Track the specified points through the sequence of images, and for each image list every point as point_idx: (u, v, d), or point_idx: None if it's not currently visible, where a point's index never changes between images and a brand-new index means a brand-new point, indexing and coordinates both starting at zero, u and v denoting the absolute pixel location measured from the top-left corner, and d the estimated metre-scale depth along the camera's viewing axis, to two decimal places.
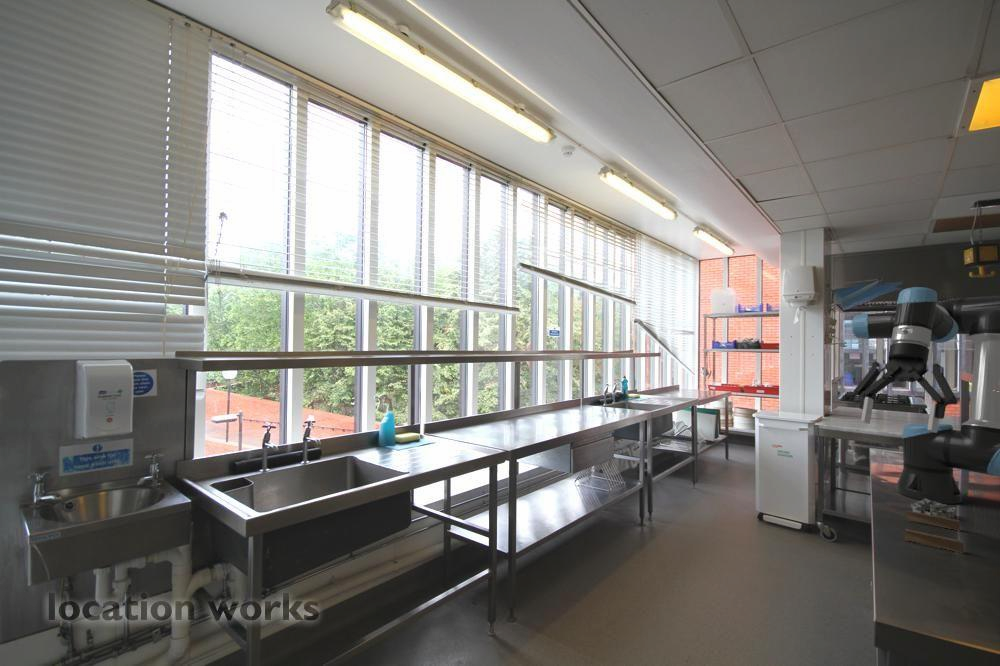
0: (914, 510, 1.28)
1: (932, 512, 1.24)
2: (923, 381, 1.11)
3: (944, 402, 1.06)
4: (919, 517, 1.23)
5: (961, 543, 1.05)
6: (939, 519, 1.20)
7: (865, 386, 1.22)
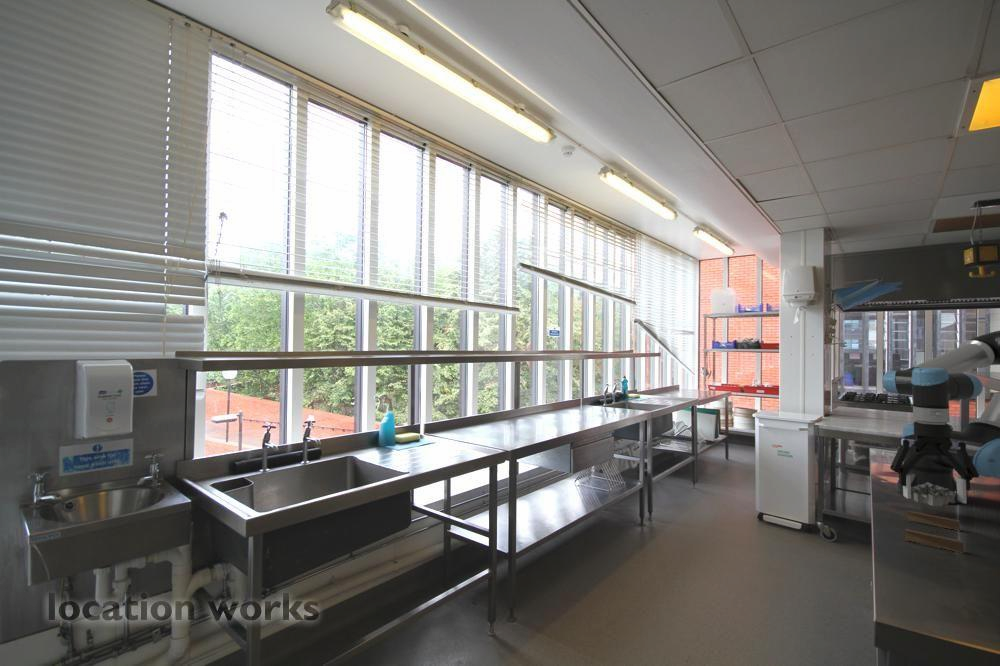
0: (912, 493, 1.30)
1: (928, 495, 1.25)
2: (953, 459, 1.26)
3: None
4: (919, 517, 1.23)
5: (961, 543, 1.05)
6: (939, 519, 1.20)
7: None
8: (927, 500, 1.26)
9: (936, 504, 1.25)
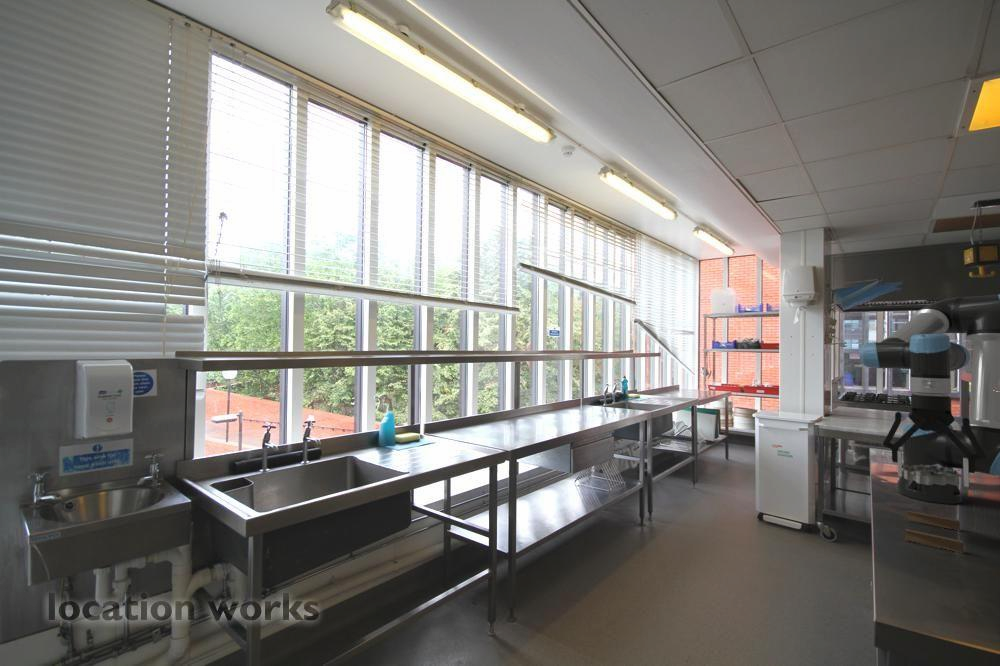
0: None
1: (916, 472, 1.14)
2: (953, 435, 1.12)
3: (976, 458, 1.10)
4: (919, 517, 1.23)
5: (961, 543, 1.05)
6: (939, 519, 1.20)
7: (892, 437, 1.21)
8: None
9: (924, 482, 1.13)
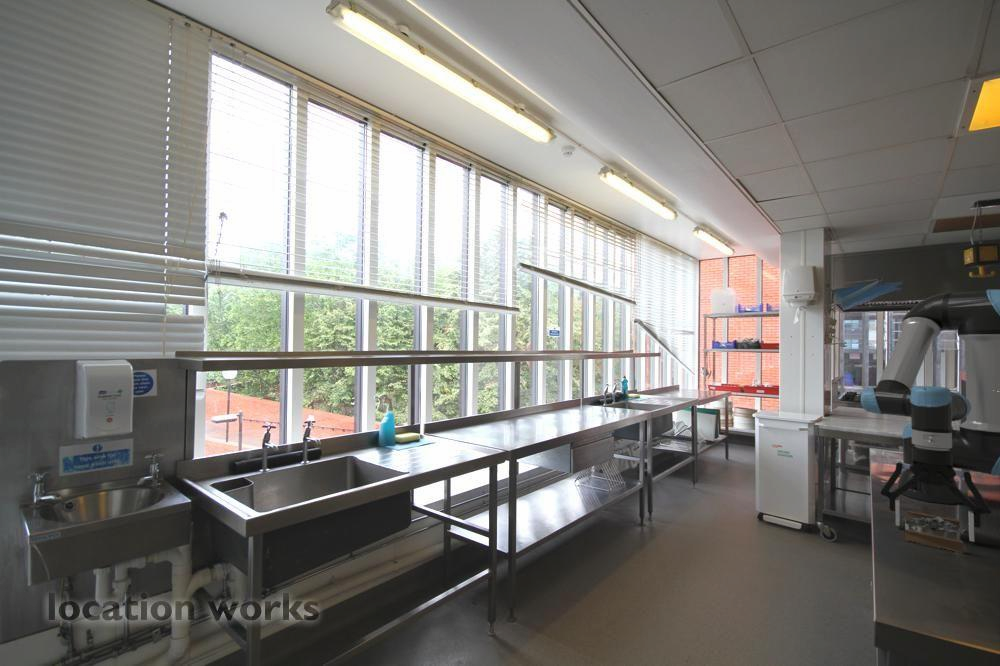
0: None
1: (917, 527, 1.14)
2: (956, 490, 1.11)
3: (981, 513, 1.09)
4: (919, 517, 1.23)
5: (961, 543, 1.05)
6: None
7: None
8: None
9: None
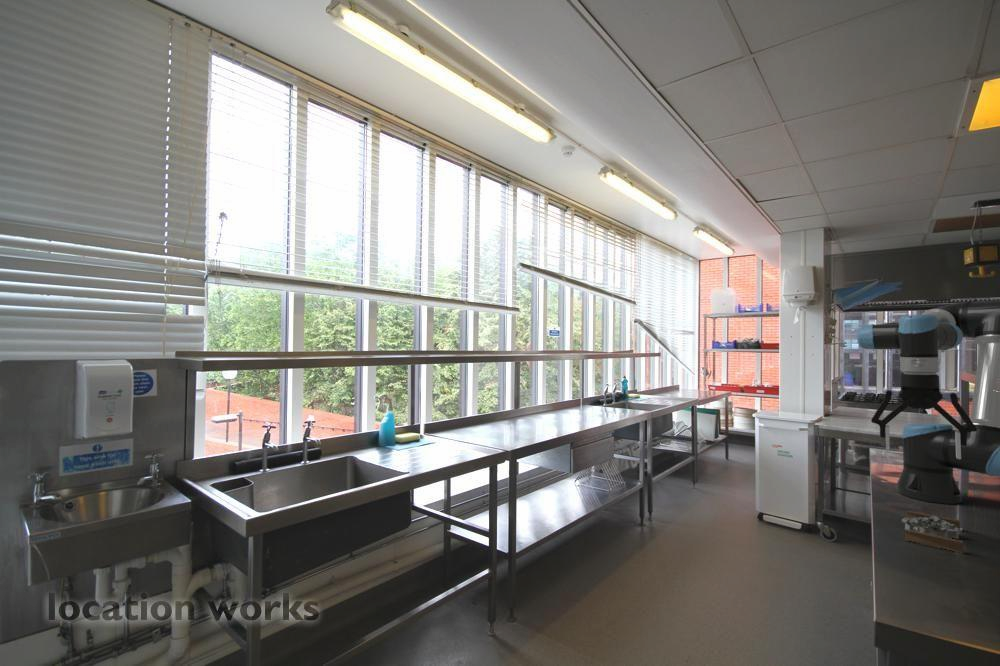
0: None
1: (919, 527, 1.14)
2: (943, 411, 1.16)
3: (967, 431, 1.13)
4: None
5: (961, 543, 1.05)
6: None
7: (881, 414, 1.25)
8: None
9: None
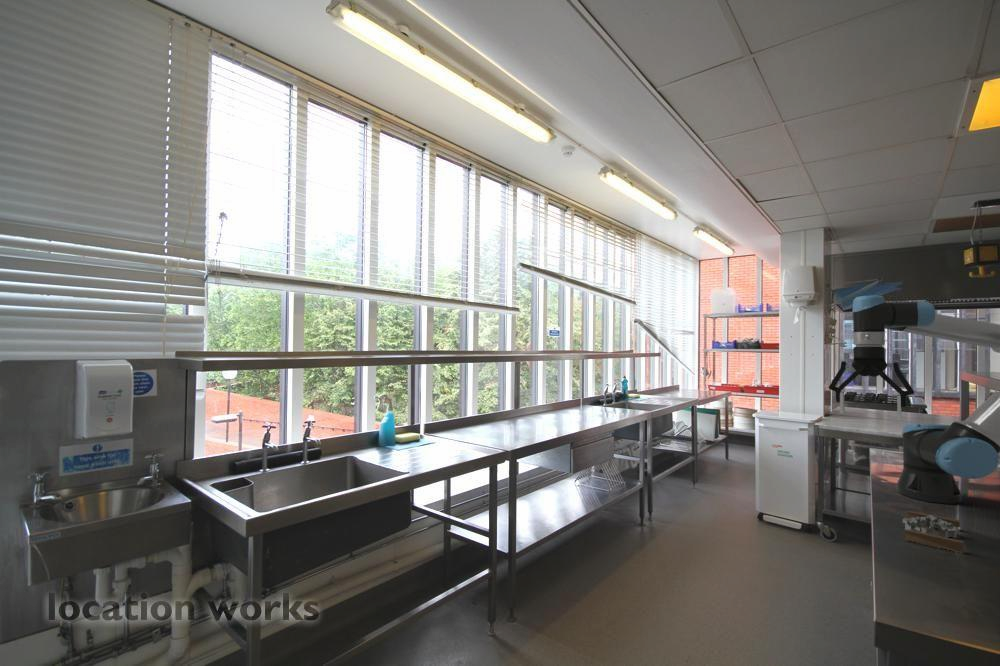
0: (906, 525, 1.18)
1: (921, 528, 1.13)
2: (887, 378, 1.35)
3: (906, 394, 1.33)
4: None
5: (961, 543, 1.05)
6: None
7: (837, 382, 1.45)
8: None
9: None
